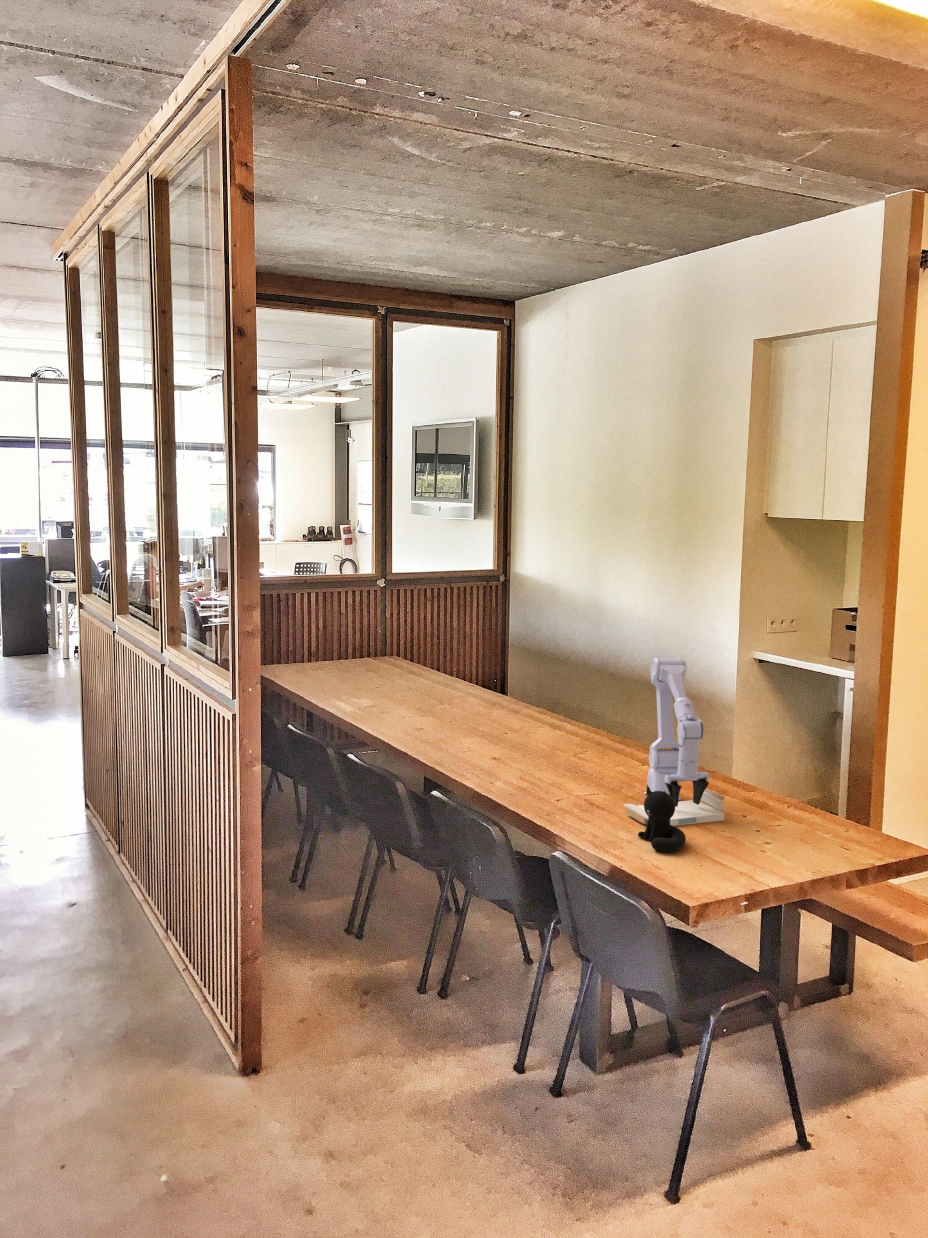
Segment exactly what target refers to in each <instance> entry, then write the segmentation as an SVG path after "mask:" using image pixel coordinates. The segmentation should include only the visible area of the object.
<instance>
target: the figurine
mask: <svg viewBox="0 0 928 1238" xmlns="http://www.w3.org/2000/svg"><path fill="white" fill-rule="evenodd" d="M646 792H647V793H646V794H645V795H646V796H645V799H644V802H643V805H644V810H645V813H646V814H647V816H648V817H649V819H648V820H647V824H646V827H645V829H644V830H645V831H639V832H638V834H637V836H638V838H642V839H644V840H645V841H648V840H649V842H650V843H651V847H652V849H653V850H654V851H657V852H664V853H673V852H677V851H679V850H681V849H682V847H683V846H684V845H685V843H686V834H685V833H684V831H682V829H680V828H679V827H677V826H672V825H670V818H671V817H672V816H673V815H674V812H675V802H674V800H673V798H672V797H671V796H670V795H669V794H668V793H666V792H665V791H664V792H663V791H654V792H651V790H650V788H649V787H648V785H647V784H646Z"/></svg>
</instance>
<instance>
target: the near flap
mask: <svg viewBox="0 0 928 1238" xmlns="http://www.w3.org/2000/svg"><path fill="white" fill-rule="evenodd" d="M623 806H624V807H625V814H626V815H628V816H630V817H631V818H633V819H635V820H636V821H638V822H640V823H641V824H643V825H647V822H648V819H649V817H648V816H647V814H646V813H645V810H643V809H642V808H640V807H638V806H639V805H635V804H634V803H623Z"/></svg>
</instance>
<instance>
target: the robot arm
mask: <svg viewBox="0 0 928 1238" xmlns="http://www.w3.org/2000/svg"><path fill="white" fill-rule="evenodd" d="M686 674H687V662H686V660H685V659H684V658H682V657H679V658H674V657H673V658H668V657H665V658H658V657H654V658H653V660H652V661H651V664H650V680H651V684H652V685H653V686H655V692H656V714H657V736H658V737H657V739H656V740H655V741H653V742H652V743H651V745H650V746H649V752H648V753H649V754H648V764H649V767H650V769H649V770H648V772H647V779H646V780H647V781H646V786H647V785H648V787H649V788H650V790H651V792H654V791H663V792H664V791H665V792H666V793H668V794H669V795H670V796H671V797H672V798H673V800H674V802H675V807H677V806H678V802H679V801H682V797H680V793H681V789H682V785H680V784H679V783H680V782H690V781H691V782H692V787H693V793H692V795H693V796H692V800H693V803H695V804H697V805H698V804H699V803H700V802H701V797H702V795H703V793H704V791H705V789H706V788H708V786H709V784H710V783H709V781H710V777H711V775H710V774H711V773H710V772H707V771H698V768H699V757H700V755H699V754H700V742H701V741H700V740H702V739H703V737H704V733H705V732H704V731H705V728H704V723H703V721H702V720H701V719H700V717H698V716H697V713H696V710H695V708H694V703H693V701H692V700H691V699H689V698H688V695H687V691H686V684H685V681H684V680H685V679H686ZM673 698H674V700H673ZM673 701H675V702H674V703H673ZM674 714H675V717H676V721H677V727H676V731H677V733H676V734H677V740H676V739H675V729H674V727H675V726H674ZM646 793H647V791H644V795H646Z"/></svg>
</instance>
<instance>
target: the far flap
mask: <svg viewBox="0 0 928 1238" xmlns="http://www.w3.org/2000/svg"><path fill="white" fill-rule="evenodd" d="M724 800H725V796H724V795H723V794H721V793H718V792H716V791H713V790H712V789H709V788H708V787H707V788H706V789H705V791H704V793H703V795H702V797H701V800H700V802H702V803H704V804H705V803H706V805H708V806H710V807H712V808H714V809H716V810H717V809H718V811H720V812H722V813H724V812H726V810H725V806H724V802H723V801H724Z"/></svg>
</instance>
